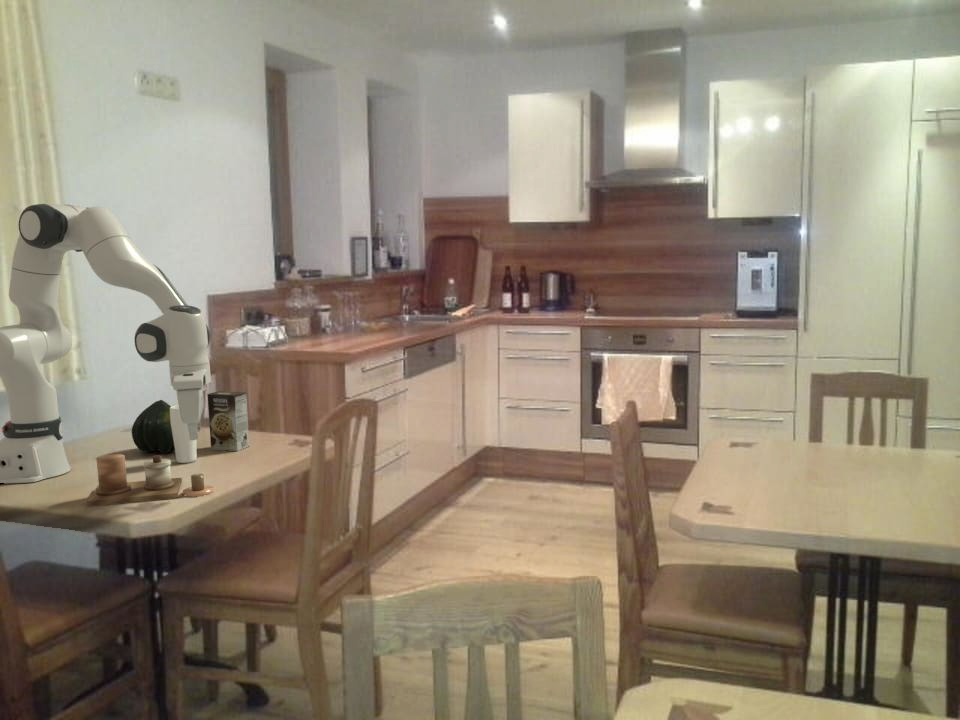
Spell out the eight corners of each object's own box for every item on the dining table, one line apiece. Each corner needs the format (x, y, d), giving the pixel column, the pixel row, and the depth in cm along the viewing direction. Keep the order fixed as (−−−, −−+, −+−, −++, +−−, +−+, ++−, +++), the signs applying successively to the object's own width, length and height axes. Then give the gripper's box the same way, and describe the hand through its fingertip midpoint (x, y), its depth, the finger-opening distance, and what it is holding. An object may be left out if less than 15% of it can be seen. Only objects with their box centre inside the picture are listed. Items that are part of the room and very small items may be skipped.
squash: (144, 441, 232) (172, 394, 239) (113, 438, 241) (140, 392, 248) (181, 467, 242) (207, 421, 249) (150, 462, 251) (175, 418, 257)
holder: (87, 506, 193) (83, 466, 192) (98, 489, 206) (95, 452, 205) (177, 498, 198) (174, 458, 196) (182, 482, 211) (179, 445, 210)
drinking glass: (204, 458, 235) (200, 404, 233) (193, 464, 228) (189, 408, 226) (180, 458, 236) (176, 404, 234) (168, 464, 229) (164, 409, 227)
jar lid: (182, 499, 197) (180, 480, 197) (184, 491, 204) (183, 473, 203) (213, 496, 199) (211, 477, 199) (214, 488, 206) (213, 470, 205)
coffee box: (209, 450, 245) (205, 394, 242) (223, 444, 251) (219, 390, 249) (237, 451, 242) (233, 394, 240) (250, 446, 248) (247, 391, 246)
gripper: (179, 371, 207) (184, 428, 209) (172, 383, 187) (177, 445, 189) (207, 369, 209) (211, 425, 210) (202, 381, 189) (207, 443, 191)
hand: (195, 435), depth 200 cm, fingers open, 8 cm apart
